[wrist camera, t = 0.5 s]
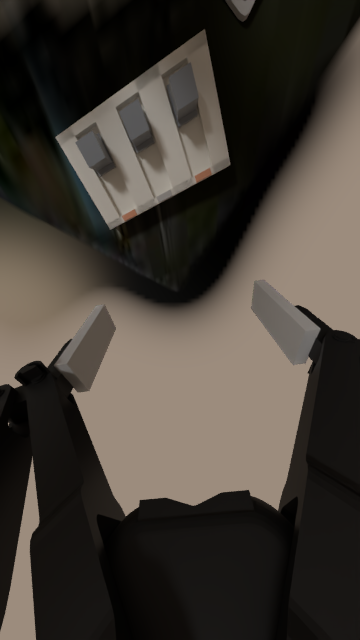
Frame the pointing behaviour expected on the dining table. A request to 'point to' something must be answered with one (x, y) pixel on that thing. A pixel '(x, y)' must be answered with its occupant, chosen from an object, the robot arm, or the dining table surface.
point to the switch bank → (169, 141)
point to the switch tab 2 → (137, 126)
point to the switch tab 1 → (95, 153)
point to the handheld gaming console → (241, 8)
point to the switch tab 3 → (183, 95)
